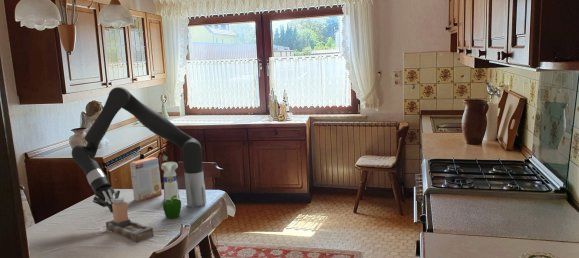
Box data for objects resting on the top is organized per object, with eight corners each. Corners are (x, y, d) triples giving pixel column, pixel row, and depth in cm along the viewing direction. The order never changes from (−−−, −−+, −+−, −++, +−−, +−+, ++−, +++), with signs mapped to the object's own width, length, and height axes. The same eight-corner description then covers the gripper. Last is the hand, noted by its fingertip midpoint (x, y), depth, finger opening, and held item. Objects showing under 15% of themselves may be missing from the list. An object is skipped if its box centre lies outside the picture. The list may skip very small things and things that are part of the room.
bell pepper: (165, 221, 205) (163, 200, 203) (163, 215, 212) (161, 195, 211) (183, 218, 208) (181, 197, 206) (180, 212, 215) (179, 192, 214)
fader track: (106, 229, 197) (105, 222, 197) (123, 224, 204) (122, 216, 203) (136, 242, 182) (135, 234, 182) (153, 235, 188) (152, 227, 188)
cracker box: (155, 193, 249) (152, 156, 246) (162, 194, 245) (158, 157, 242) (133, 199, 238) (129, 161, 235) (139, 201, 235) (135, 163, 231)
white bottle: (181, 200, 234) (177, 153, 230) (164, 202, 232) (159, 155, 228) (180, 195, 242) (176, 150, 238) (163, 197, 240) (159, 152, 236)
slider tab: (112, 225, 196) (109, 200, 194) (124, 221, 200) (121, 196, 198) (118, 228, 193) (115, 202, 191) (130, 223, 197) (127, 198, 195)
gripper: (86, 179, 197) (103, 211, 191) (114, 173, 207) (131, 203, 201) (82, 189, 201) (98, 220, 196) (109, 182, 211) (126, 212, 205)
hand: (115, 211), depth 198 cm, fingers closed
